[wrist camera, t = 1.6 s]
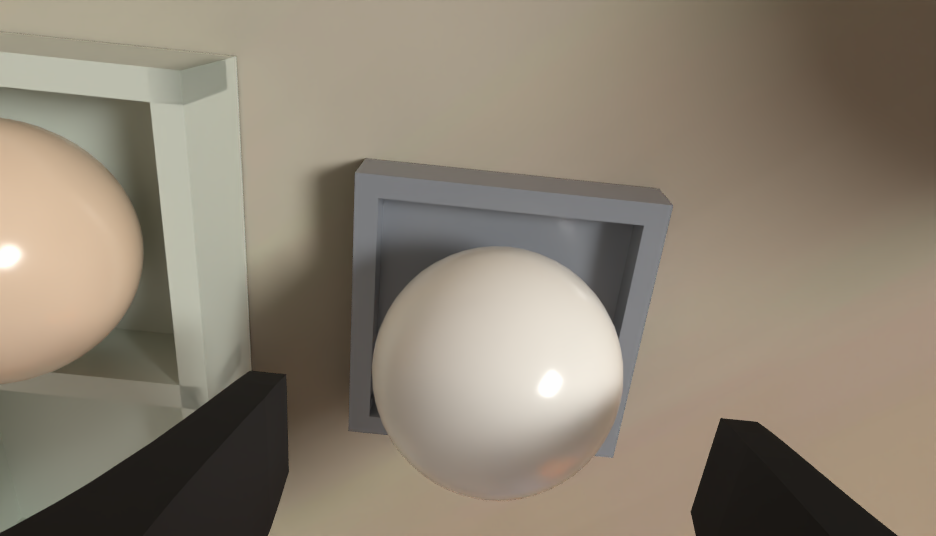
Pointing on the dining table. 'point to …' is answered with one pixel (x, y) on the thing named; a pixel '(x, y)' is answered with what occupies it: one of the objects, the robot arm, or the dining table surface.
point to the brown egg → (60, 251)
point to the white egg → (497, 373)
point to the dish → (498, 224)
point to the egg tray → (164, 262)
